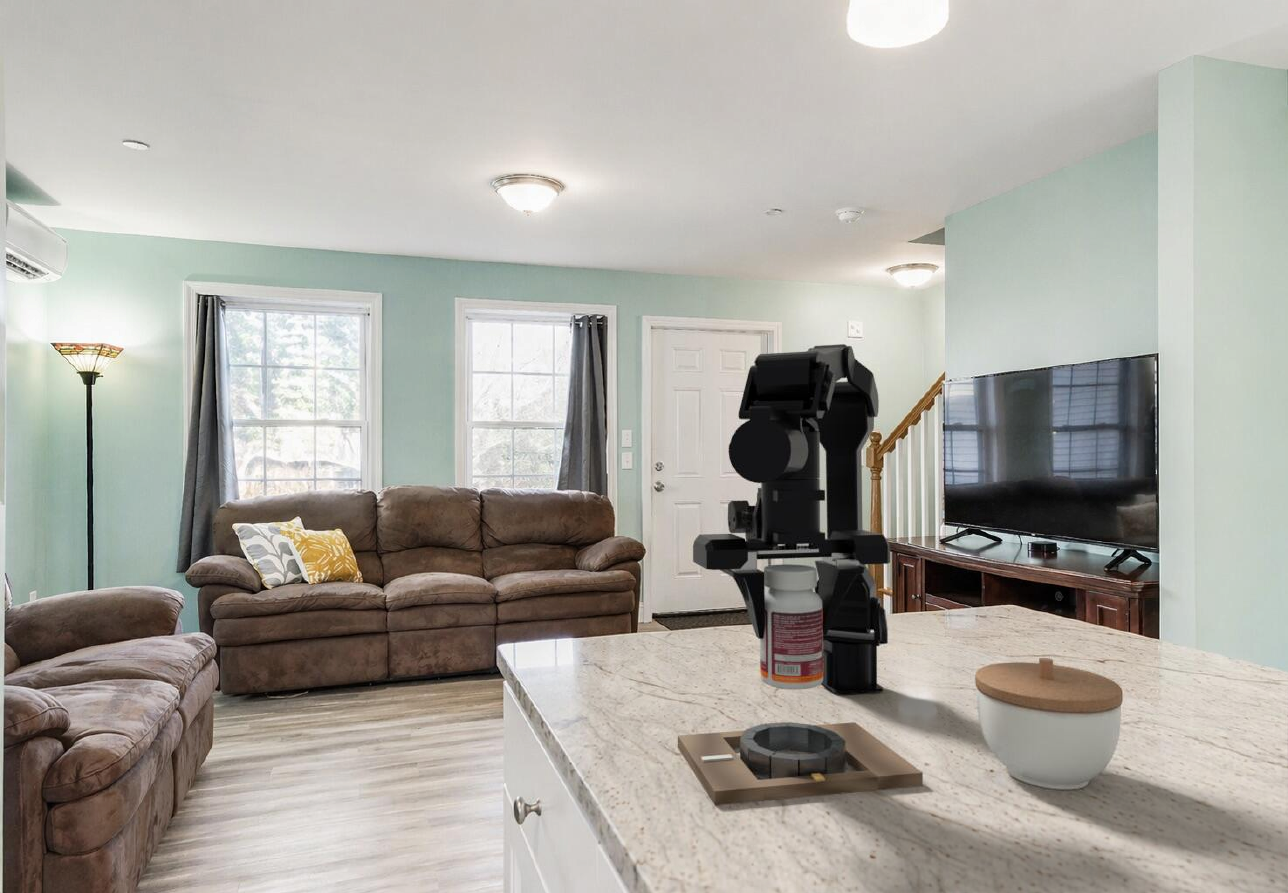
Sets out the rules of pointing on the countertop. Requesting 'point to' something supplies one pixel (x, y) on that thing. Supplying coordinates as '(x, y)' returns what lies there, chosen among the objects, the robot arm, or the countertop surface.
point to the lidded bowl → (1049, 721)
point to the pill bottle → (792, 628)
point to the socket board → (793, 762)
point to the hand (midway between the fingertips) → (791, 636)
